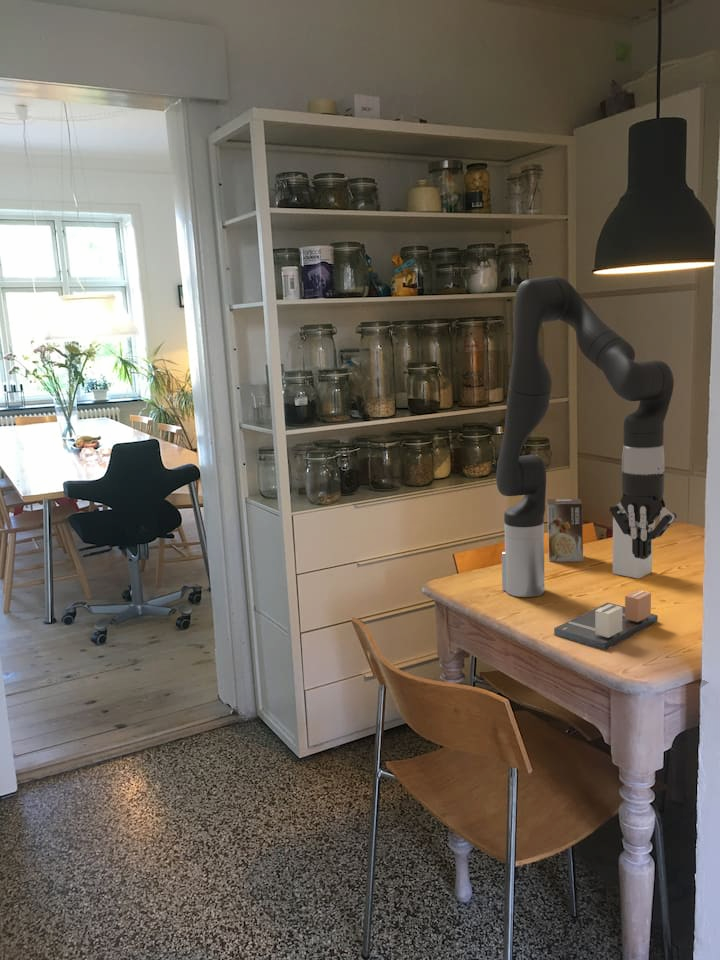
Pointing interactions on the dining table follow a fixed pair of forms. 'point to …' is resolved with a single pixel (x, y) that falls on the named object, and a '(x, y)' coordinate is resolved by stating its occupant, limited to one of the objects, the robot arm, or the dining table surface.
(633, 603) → the fader terracotta
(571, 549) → the coffee box
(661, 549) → the dining table surface
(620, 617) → the block
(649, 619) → the console board
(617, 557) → the milk carton
